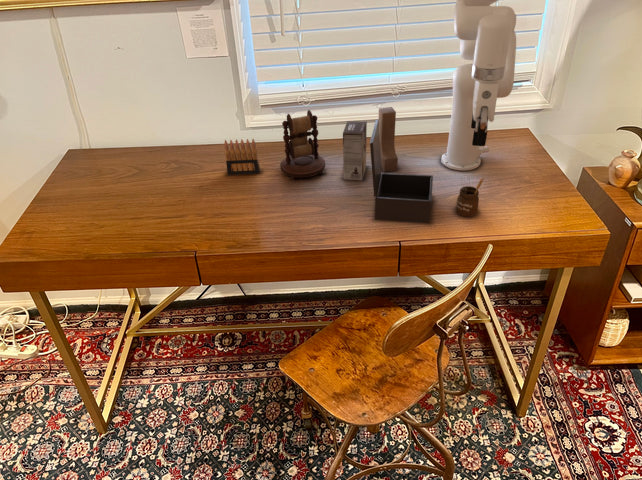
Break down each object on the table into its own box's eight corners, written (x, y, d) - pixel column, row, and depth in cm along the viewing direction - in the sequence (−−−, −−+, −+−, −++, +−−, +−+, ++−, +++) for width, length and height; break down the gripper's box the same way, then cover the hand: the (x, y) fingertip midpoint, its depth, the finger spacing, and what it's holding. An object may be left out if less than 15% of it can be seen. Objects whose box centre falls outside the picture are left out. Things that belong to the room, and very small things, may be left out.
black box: (430, 196, 164) (432, 175, 160) (429, 223, 154) (431, 201, 149) (379, 193, 167) (380, 172, 163) (374, 219, 156) (375, 198, 152)
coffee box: (347, 165, 182) (346, 120, 171) (366, 167, 180) (367, 120, 170) (342, 179, 175) (342, 132, 164) (362, 181, 173) (363, 133, 163)
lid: (378, 119, 152) (375, 119, 152) (373, 142, 141) (369, 142, 142) (381, 171, 162) (378, 171, 162) (376, 196, 151) (373, 196, 151)
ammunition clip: (227, 174, 181) (222, 141, 173) (228, 172, 182) (222, 138, 174) (259, 173, 180) (255, 139, 173) (260, 170, 182) (256, 137, 174)
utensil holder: (462, 203, 160) (468, 167, 153) (481, 211, 157) (488, 174, 149) (451, 212, 157) (456, 175, 150) (470, 220, 154) (476, 182, 146)
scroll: (316, 156, 188) (314, 99, 175) (331, 176, 177) (330, 117, 164) (275, 164, 184) (270, 107, 172) (288, 185, 174) (283, 126, 161)
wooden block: (397, 170, 178) (400, 117, 166) (384, 171, 177) (386, 119, 166) (389, 157, 185) (392, 106, 173) (376, 159, 184) (378, 107, 173)
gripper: (507, 85, 125) (494, 153, 136) (501, 58, 138) (490, 122, 149) (473, 85, 126) (463, 151, 137) (470, 58, 139) (462, 121, 150)
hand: (477, 136), depth 143 cm, fingers open, 9 cm apart
